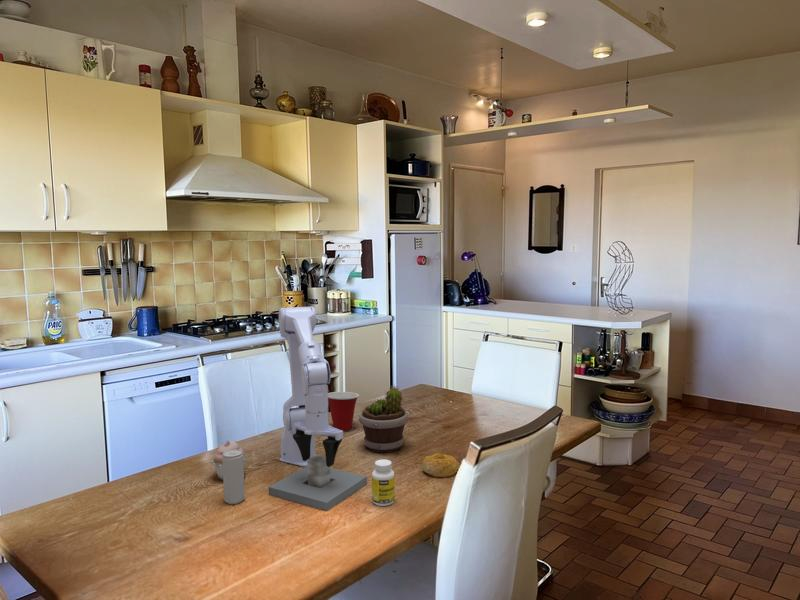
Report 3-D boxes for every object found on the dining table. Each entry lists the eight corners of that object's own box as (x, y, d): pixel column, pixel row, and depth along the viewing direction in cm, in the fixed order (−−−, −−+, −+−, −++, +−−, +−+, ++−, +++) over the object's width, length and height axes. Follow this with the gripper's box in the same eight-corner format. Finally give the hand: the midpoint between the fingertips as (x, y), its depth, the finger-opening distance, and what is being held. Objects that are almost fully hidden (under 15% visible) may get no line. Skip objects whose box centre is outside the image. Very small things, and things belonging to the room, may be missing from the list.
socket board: (268, 494, 142) (268, 486, 142) (312, 470, 157) (312, 463, 156) (326, 511, 133) (326, 502, 133) (367, 483, 148) (367, 476, 147)
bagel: (467, 469, 157) (467, 452, 156) (443, 482, 148) (443, 465, 148) (438, 460, 163) (438, 444, 163) (413, 473, 155) (413, 456, 154)
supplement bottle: (378, 508, 134) (377, 468, 133) (368, 499, 139) (367, 460, 138) (398, 503, 136) (398, 464, 135) (388, 494, 141) (388, 456, 140)
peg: (308, 490, 144) (307, 459, 143) (318, 484, 148) (317, 454, 147) (320, 493, 142) (319, 462, 141) (330, 487, 146) (329, 457, 145)
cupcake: (205, 476, 153) (203, 440, 152) (236, 466, 160) (235, 431, 159) (223, 486, 147) (222, 448, 146) (255, 475, 154) (253, 439, 153)
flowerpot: (351, 452, 169) (349, 386, 167) (373, 436, 183) (371, 375, 181) (396, 459, 164) (395, 391, 162) (415, 441, 178) (414, 378, 176)
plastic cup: (365, 426, 193) (365, 392, 191) (346, 436, 184) (345, 399, 182) (340, 421, 199) (339, 387, 197) (320, 430, 189) (319, 395, 188)
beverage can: (239, 505, 136) (237, 457, 135) (220, 504, 137) (218, 455, 136) (248, 497, 141) (246, 449, 140) (230, 495, 142) (228, 448, 141)
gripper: (283, 410, 143) (285, 462, 144) (330, 418, 136) (331, 473, 137) (302, 402, 149) (303, 453, 150) (347, 410, 142) (348, 463, 143)
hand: (318, 462), depth 144 cm, fingers open, 7 cm apart
